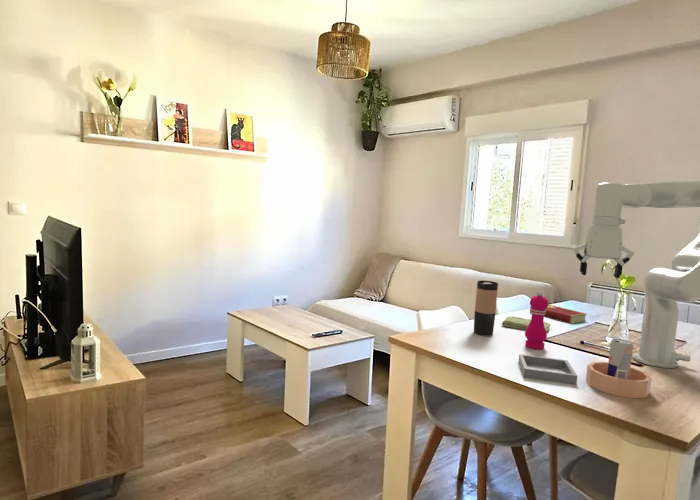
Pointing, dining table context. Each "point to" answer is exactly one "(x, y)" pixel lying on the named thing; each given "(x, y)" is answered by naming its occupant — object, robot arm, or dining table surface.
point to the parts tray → (547, 375)
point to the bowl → (618, 381)
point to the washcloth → (519, 323)
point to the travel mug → (485, 308)
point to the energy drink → (620, 358)
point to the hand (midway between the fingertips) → (599, 276)
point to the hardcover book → (564, 314)
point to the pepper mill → (537, 323)
